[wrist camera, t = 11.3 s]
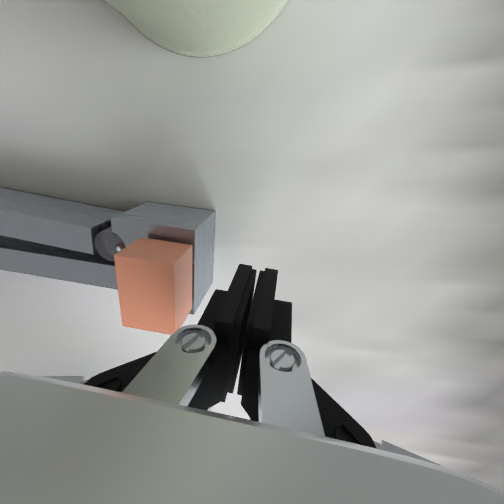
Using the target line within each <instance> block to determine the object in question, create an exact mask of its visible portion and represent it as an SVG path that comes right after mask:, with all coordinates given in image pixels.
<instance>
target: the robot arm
mask: <svg viewBox="0 0 504 504" xmlns="http://www.w3.org/2000/svg"><path fill="white" fill-rule="evenodd" d="M277 274H278V270H274V269H268V268H265V271H260V273H259V277H258V281H257V285H256V289H255V293H254V297H253V292H254V285H255V277H256V270H254V269H252V266H250V265H244V264H239V266H238V269H237V271H236V273H235V276H234V278H233V280H232V282H231V285H230V287H229V289H228V291H223V290H215V292H214V293H213V295H212V297H211V299H210V301H209V303H208V305H207V307H206V309H205V311H204V313H203V315H202V317H201V319H200V321H199V322H198V324H197V325H187V326H184V327H182V328H180V329H178V330H177V331H175V332H174V333H173V334H172V335H171V337H170V338H169V339H168V340H167V341H166V342H165V343H164V345H163V346H162V347H161V348H160V349H159V350H158V351H157V352H155V353H152V354H150V355H147V356H144V357H142V358H139V359H136V360H134V361H131V362H129V363H126V364H123V365H121V366H118V367H115V368H113V369H110V370H107V371H105V372H102V373H100V374H98V375H96V376H94V377H92V378H91V379H89V380H85V377H84V376H35V375H28V374H21V373H15V372H3V371H0V504H504V492H502V491H500V490H499V489H497V488H495V487H493V486H490V485H488V484H486V483H484V482H481V481H479V480H477V479H475V478H473V477H470V476H468V475H466V474H463V473H460V472H457V471H455V470H452V469H449V468H446V467H443V466H441V465H439V464H436V463H434V462H432V461H430V460H427V459H425V458H423V457H420V456H418V455H416V454H413V453H411V452H409V451H406V450H404V449H402V448H399V447H397V446H395V445H392V444H390V443H388V442H386V441H383V440H382V441H381V443H380V444H379V443H377V442H375V441H373V440H372V438H371V436H370V435H369V434H368V433H367V432H366V431H365V429H364V428H363V427H362V426H361V425H360V424H358V423H357V422H356V421H355V420H354V419H353V418H352V417H351V416H350V415H349V414H348V413H347V412H346V411H345V410H344V409H343V408H342V407H341V406H340V405H339V404H338V403H337V402H336V401H334V400H333V399H332V398H331V397H330V396H329V395H328V394H327V393H326V392H325V391H324V390H323V389H322V388H321V387H320V386H319V385H318V384H317V383H316V382H315V381H314V380H313V379H312V378H311V377H310V373H309V369H308V365H307V361H306V358H305V355H304V353H303V352H302V351H301V350H300V348H298V347H297V346H296V345H294V344H292V343H291V327H292V303H291V302H285V301H280V300H274V299H275V290H276V282H277ZM241 357H242V361H241ZM240 361H241V368H240V376H239V384H238V392H237V394H238V395H242V400H241V405H242V407H243V408H244V410H245V411H246V412H247V414H248V415H249V420H247V419H243V418H238V417H234V416H229V415H224V414H220V413H215V412H211V409H212V406H213V405H215V404H217V403H219V402H220V401H221V402H225V399H226V395H227V392H228V393H233V390H234V386H235V382H236V378H237V373H238V369H239V365H240Z"/></svg>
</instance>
